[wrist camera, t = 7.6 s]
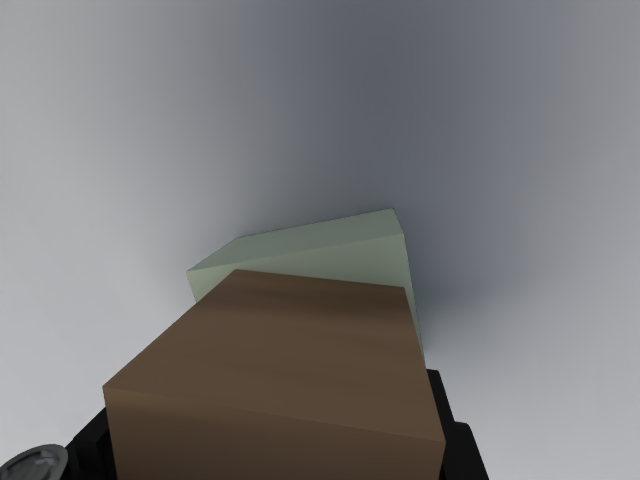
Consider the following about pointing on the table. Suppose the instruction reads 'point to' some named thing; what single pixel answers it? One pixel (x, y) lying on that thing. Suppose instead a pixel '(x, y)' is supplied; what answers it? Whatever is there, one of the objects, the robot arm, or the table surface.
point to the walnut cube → (280, 388)
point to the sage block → (319, 255)
